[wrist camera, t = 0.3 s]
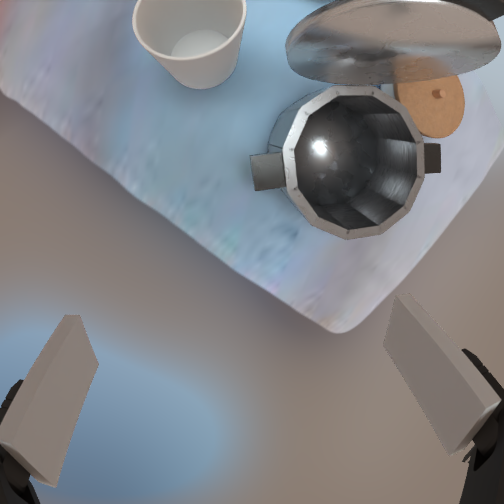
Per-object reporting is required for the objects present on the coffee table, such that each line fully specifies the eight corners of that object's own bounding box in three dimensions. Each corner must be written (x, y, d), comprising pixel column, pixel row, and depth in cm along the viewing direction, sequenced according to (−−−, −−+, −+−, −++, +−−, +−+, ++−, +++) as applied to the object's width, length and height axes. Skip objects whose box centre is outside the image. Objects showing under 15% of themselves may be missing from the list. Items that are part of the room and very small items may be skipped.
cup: (239, 86, 32) (250, 54, 18) (170, 93, 32) (132, 69, 17) (235, 26, 29) (243, -36, 14) (167, 33, 29) (133, -22, 14)
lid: (273, 87, 23) (270, 70, 22) (424, 88, 23) (421, 74, 23) (337, -45, 6) (325, -70, 6) (559, 43, 6) (550, 21, 6)
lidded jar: (352, 81, 33) (387, 71, 24) (404, 48, 31) (444, 36, 22) (394, 148, 37) (435, 157, 28) (441, 112, 35) (484, 114, 26)
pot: (235, 92, 33) (239, 77, 23) (390, 86, 33) (437, 79, 23) (253, 220, 39) (263, 252, 29) (397, 201, 39) (441, 224, 30)
